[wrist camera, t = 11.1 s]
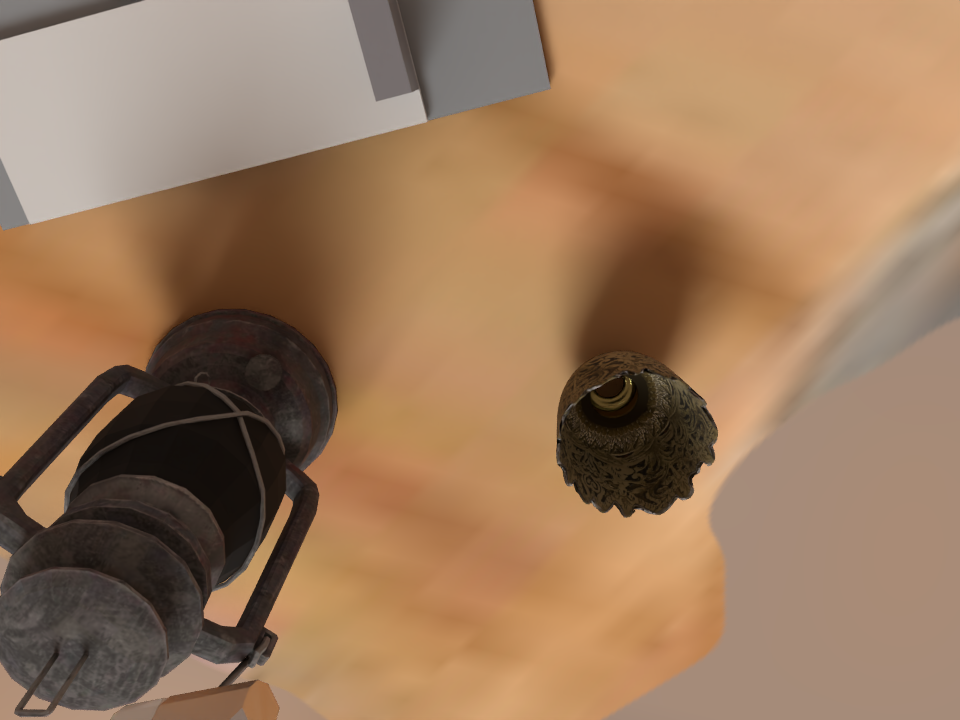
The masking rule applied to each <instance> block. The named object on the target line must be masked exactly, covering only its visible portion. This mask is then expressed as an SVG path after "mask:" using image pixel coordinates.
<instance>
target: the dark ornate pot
mask: <svg viewBox="0 0 960 720" xmlns="http://www.w3.org/2000/svg"><path fill="white" fill-rule="evenodd" d="M620 376H622V378H623V381H624V386H623V389H622V391H621V392H620V393H619V394H618V395H617V396H615V397H612V398H604V397H601V396H600V395H599V394H598V393H597V392H596V390H595V389H597V388H599V387H601V386H602V385H603V384H605V383H606V382H608V381H610V380H612V379H615V378H619V377H620ZM706 405H707V403H706V402H705V400H704V399H703V398H702V397H701V396H699V395H698V394H697V393H696V392H695V391H694V390H693V389H692V388H691V387H690V386H689V385H688V384H686V383H685V382H684V381H683V380H682V379H681V378H680V377H679V376H677V375H676V374H675V373H674V372H673V371H671V370H670V369H669V368H668V367H666V366H665V365H664V364H662V363H660V362H659V361H657V360H655V359H653V358H651V357H649V356H646V355H643V354H640V353H636V352H631V351H615V352H609V353H605V354H602V355H599V356H596V357H594V358H592V359H590V360H589V361H587V362H586V363H584V364H583V365H582V366H580V367H579V368H578V369H577V370H576V371H575V372H574V373H573V375H572V376H571V377H570V379H569V380H568V382H567V384H566V385H565V387H564V390H563V392H562V395H561V398H560V402H559V407H558V414H557V450H556V458H557V464H558V465H559V466H560V467H561V468H562V470H563V477H564V480H565V483H566V485H567V486H573V485H572V484H574V487H575V490H576V492H577V493H578V494H579V495H580V497H581V499H582V500H583V502H584V503H586V504H590V503H593V506H594V507H596V508H597V509H598V510H599V511H600V512H602V513H606V512H608V511H609V510H610V509H611V508H612V507H613V505H615V506H616V507H617V508H618V509H619V511H620V512H621V514H622V515H623V517H625V518H627V517H630V516H631V515H632V514H633V513H634V512H635V510H636V509H640V510H643V511H645V512H646V513H649V514H654V515H661V514H663V513H664V512H666V511H667V510H668V509H669V508H670V507H671V506H672V505H673V503H674V502H675V500H677V498H679V499H681V500H686V499H689V498H691V496H692V495H693V493H694V488H693V487H692V486H693V483H692V478H693V477H694V475H696V474H698V473H700V467H701V466H702V464H703V463H705V464H708V465H707V466H711V465H712V463H713V462H714V460H715V453H714V449H713V447H712V446H713V445H714V444H715V443H716V441H717V437H718V430H717V427H716V424H715V422H714V420H713V418H712V416H711V414H710V413H709V411H708V410H707V408H706ZM634 509H635V510H634ZM633 510H634V511H633Z"/></svg>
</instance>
